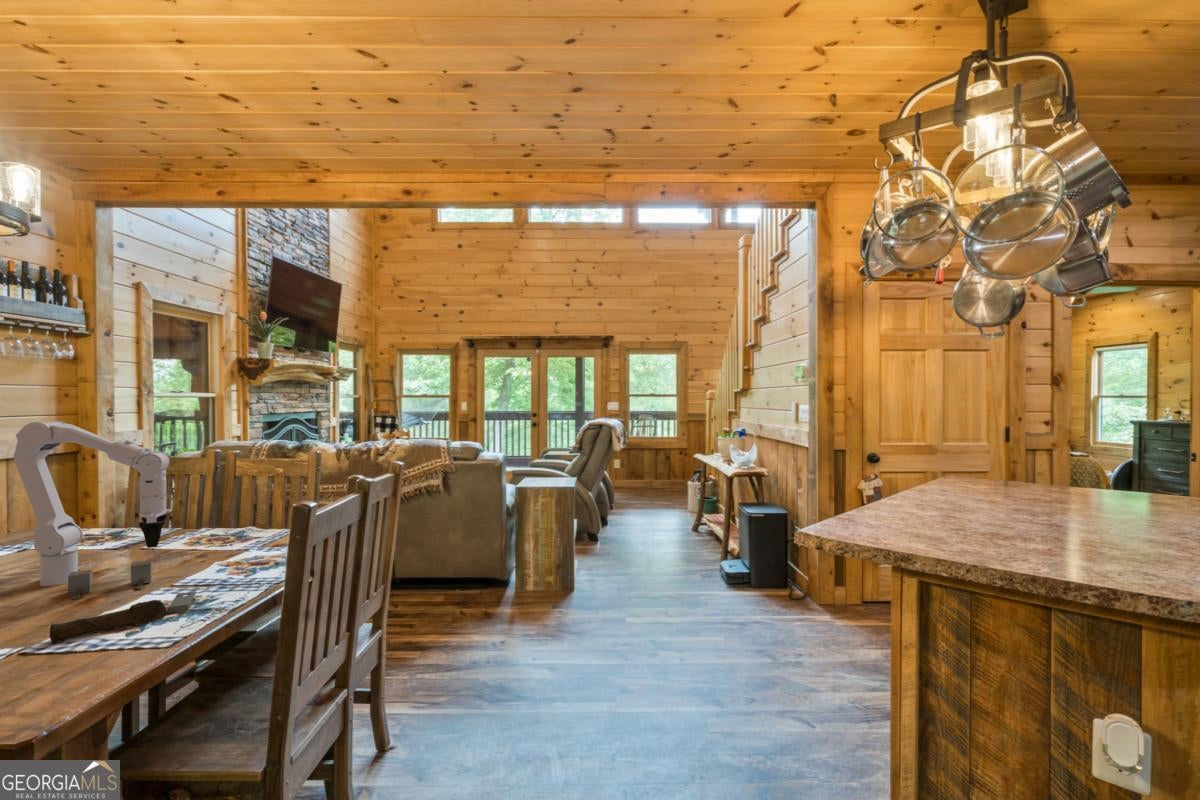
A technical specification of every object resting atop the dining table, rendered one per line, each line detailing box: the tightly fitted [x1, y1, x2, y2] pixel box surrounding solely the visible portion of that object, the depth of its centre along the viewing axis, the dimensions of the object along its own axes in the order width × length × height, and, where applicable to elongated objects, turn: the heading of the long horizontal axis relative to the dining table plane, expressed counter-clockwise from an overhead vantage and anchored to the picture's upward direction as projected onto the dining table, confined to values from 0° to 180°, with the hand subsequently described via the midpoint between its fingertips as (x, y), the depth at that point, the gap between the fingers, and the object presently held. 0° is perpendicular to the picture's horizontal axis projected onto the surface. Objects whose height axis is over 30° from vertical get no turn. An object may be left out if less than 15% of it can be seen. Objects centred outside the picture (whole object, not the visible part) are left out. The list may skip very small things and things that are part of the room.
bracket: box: [167, 590, 197, 614], centre depth 135 cm, size 4×10×2 cm, turn 27°
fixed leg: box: [67, 569, 93, 601], centre depth 138 cm, size 8×4×5 cm, turn 36°
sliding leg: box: [130, 559, 153, 590], centre depth 145 cm, size 8×4×5 cm, turn 36°
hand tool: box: [49, 599, 167, 645], centre depth 120 cm, size 19×4×5 cm, turn 134°
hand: (153, 544), depth 155 cm, fingers open, 7 cm apart
